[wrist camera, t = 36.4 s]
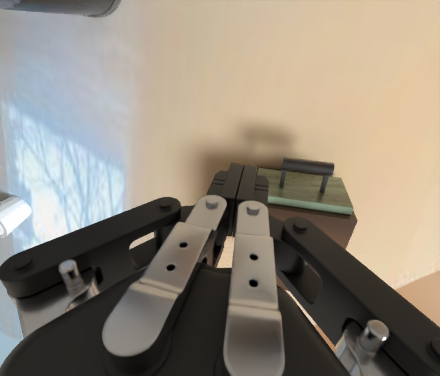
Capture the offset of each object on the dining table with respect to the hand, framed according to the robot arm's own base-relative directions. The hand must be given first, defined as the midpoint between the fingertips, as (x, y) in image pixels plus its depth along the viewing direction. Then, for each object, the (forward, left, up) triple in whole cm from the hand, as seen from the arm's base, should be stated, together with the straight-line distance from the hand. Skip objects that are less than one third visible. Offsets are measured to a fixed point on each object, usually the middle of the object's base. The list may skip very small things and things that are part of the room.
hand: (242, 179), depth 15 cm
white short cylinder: (+42, -43, -25) cm, 65 cm away
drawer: (+14, +11, -24) cm, 30 cm away
